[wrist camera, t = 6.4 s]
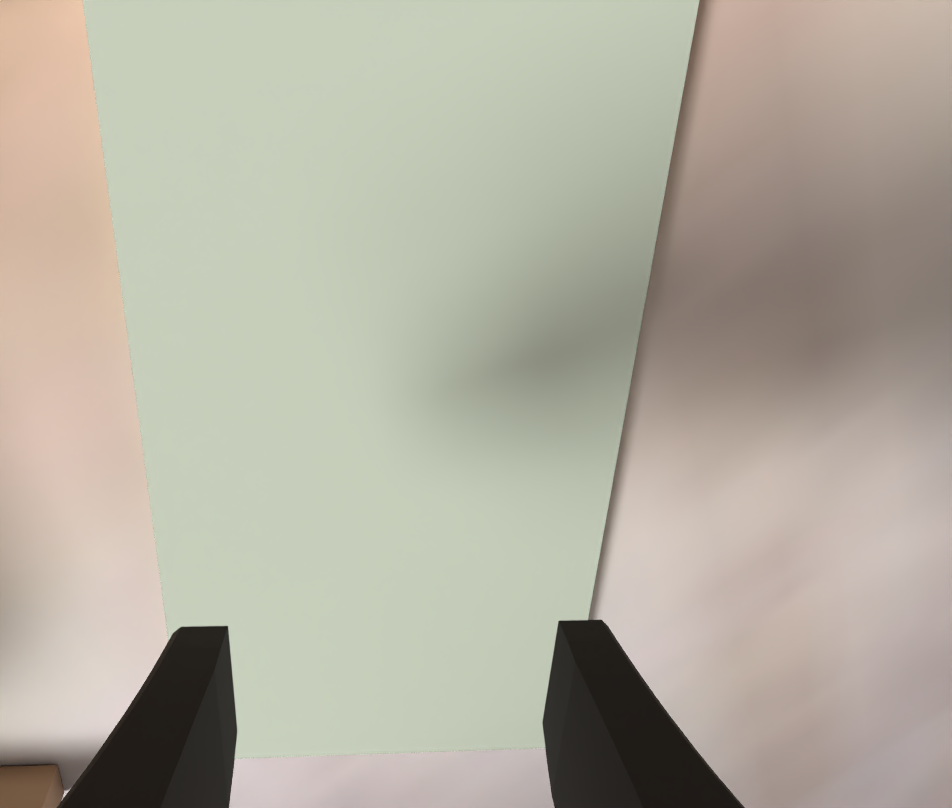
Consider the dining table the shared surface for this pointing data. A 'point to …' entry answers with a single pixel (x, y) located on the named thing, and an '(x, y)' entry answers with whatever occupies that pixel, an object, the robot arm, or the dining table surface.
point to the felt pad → (384, 336)
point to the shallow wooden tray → (30, 786)
